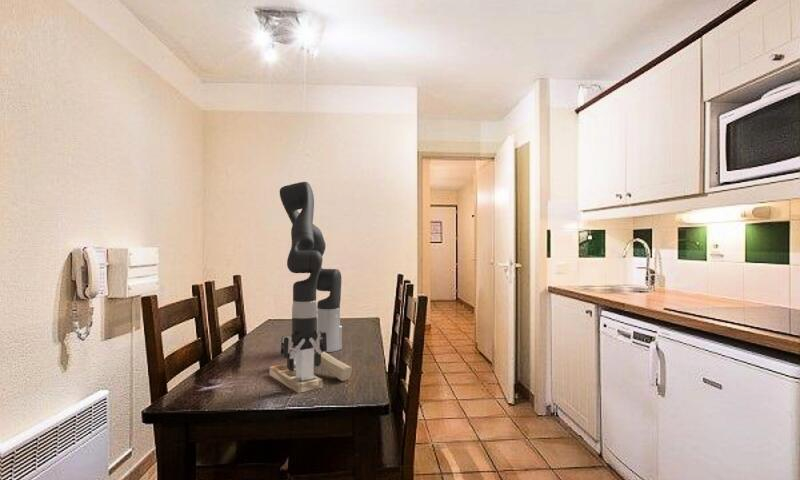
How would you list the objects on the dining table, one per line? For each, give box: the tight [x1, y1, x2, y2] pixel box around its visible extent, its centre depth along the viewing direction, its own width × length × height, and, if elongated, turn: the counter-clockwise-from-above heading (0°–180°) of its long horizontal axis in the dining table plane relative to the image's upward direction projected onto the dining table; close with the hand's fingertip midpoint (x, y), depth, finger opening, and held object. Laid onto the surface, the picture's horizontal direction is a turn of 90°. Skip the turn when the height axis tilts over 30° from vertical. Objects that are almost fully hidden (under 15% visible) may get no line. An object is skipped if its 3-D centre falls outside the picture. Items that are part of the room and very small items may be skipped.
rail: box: [269, 363, 324, 394], centre depth 144 cm, size 8×22×3 cm, turn 38°
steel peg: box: [296, 347, 315, 383], centre depth 138 cm, size 4×4×12 cm
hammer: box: [288, 333, 353, 382], centre depth 154 cm, size 16×5×30 cm
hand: (304, 368), depth 138 cm, fingers open, 8 cm apart
